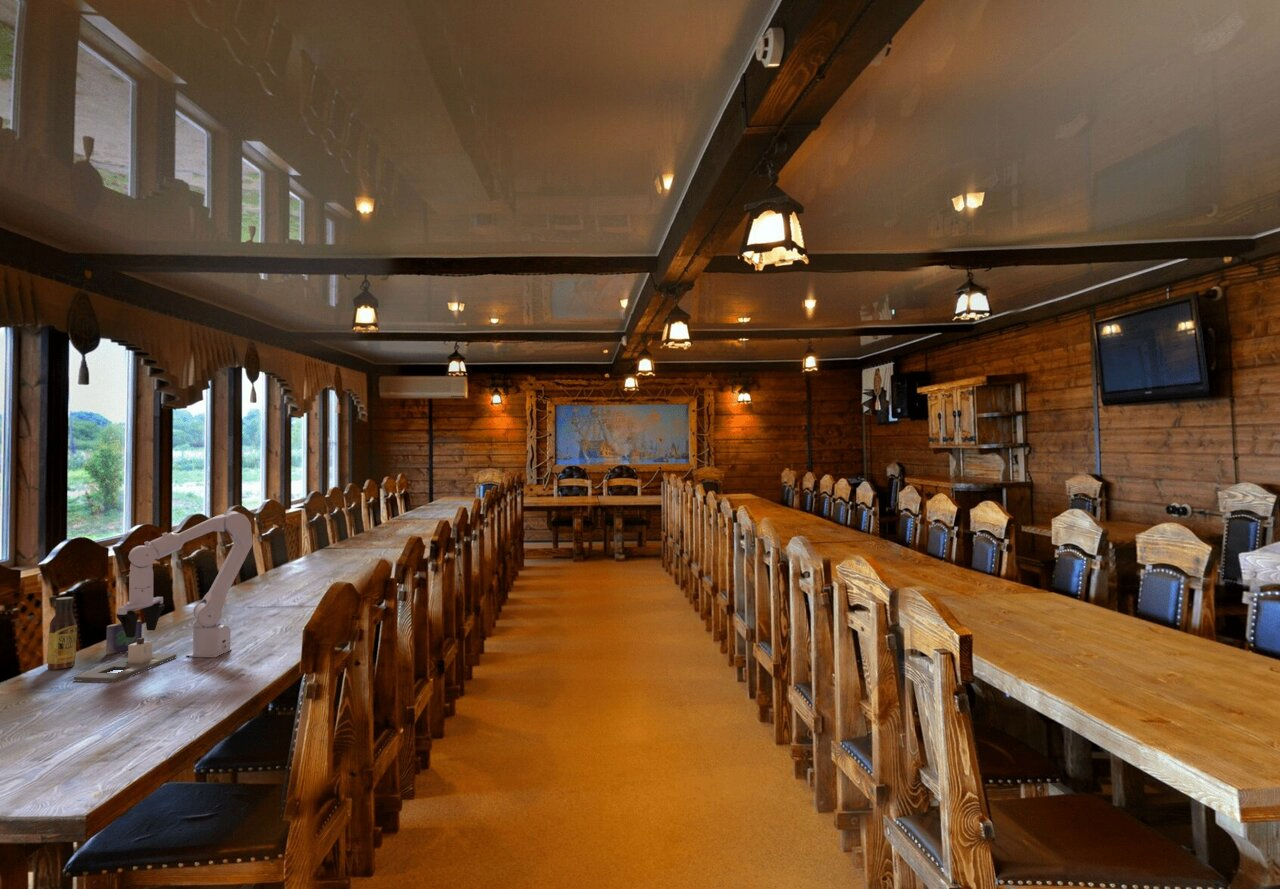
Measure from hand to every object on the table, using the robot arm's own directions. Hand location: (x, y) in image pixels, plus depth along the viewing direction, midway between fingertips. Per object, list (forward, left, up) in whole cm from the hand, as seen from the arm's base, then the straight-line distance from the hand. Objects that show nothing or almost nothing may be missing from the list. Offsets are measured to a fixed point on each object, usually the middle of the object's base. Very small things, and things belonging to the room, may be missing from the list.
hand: (141, 633), depth 201 cm
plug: (0, 0, -9) cm, 9 cm away
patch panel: (0, +5, -9) cm, 10 cm away
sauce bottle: (+20, +5, -9) cm, 23 cm away
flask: (+15, -11, -9) cm, 21 cm away
